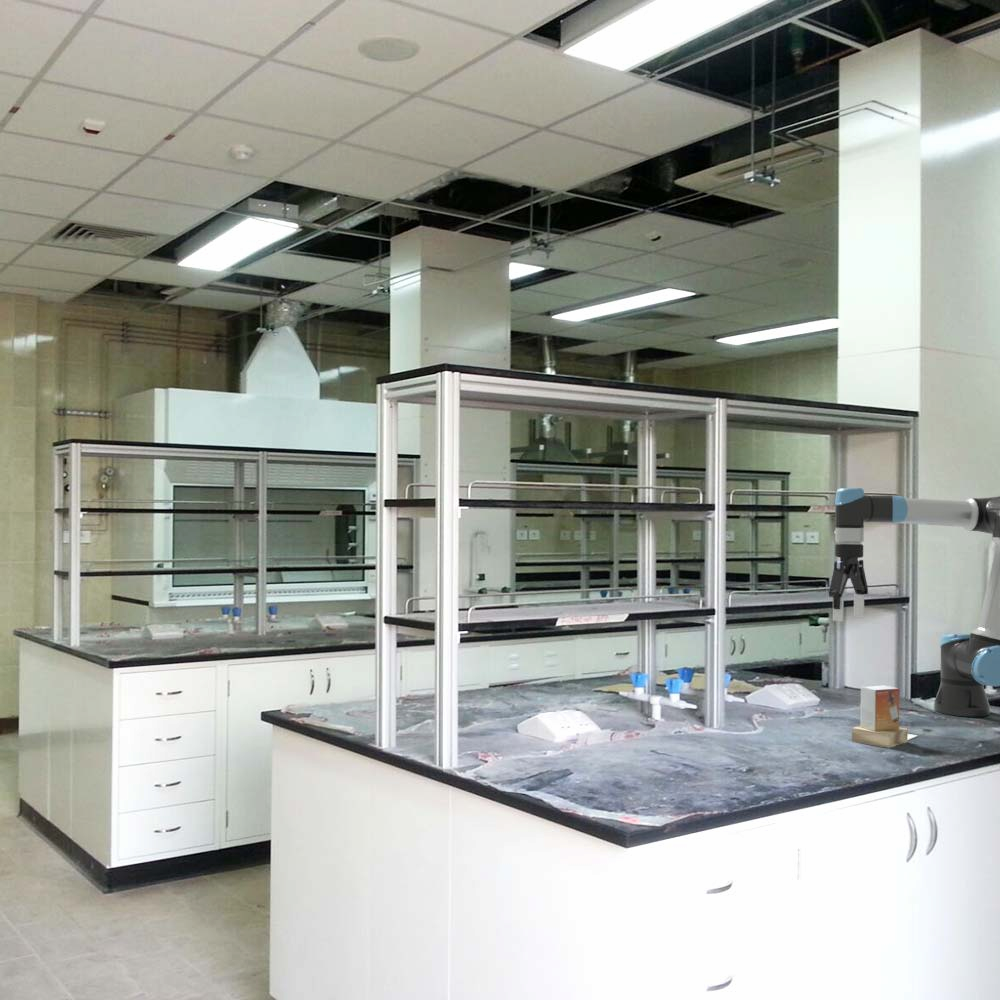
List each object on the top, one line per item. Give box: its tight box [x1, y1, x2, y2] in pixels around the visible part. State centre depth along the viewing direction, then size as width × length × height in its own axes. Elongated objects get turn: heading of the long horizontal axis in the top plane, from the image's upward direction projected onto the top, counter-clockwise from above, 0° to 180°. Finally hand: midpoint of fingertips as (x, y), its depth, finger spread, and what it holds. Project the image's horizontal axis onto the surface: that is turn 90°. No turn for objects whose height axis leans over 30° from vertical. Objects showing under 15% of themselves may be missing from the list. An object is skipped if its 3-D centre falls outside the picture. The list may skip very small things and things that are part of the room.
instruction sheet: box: [907, 733, 919, 741], centre depth 276 cm, size 7×10×1 cm
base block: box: [851, 725, 909, 749], centre depth 269 cm, size 10×10×4 cm
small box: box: [859, 684, 900, 731], centre depth 269 cm, size 8×6×10 cm
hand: (848, 619), depth 293 cm, fingers open, 13 cm apart
